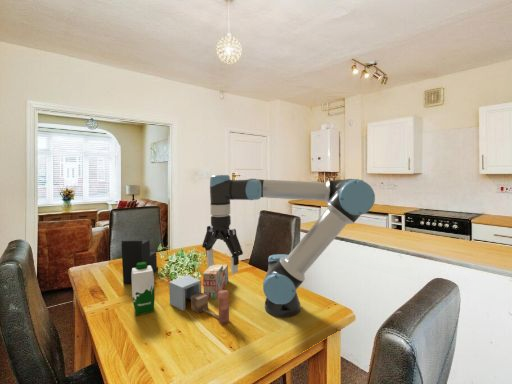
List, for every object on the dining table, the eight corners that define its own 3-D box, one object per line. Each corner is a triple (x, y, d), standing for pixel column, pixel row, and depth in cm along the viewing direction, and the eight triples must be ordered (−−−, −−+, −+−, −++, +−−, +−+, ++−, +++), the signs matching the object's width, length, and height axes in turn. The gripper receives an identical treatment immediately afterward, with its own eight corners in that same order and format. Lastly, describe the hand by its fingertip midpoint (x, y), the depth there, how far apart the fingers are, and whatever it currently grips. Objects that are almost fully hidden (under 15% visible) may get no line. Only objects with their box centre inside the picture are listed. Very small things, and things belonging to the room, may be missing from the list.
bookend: (141, 269, 171) (139, 231, 169) (158, 269, 171) (157, 231, 169) (122, 284, 147) (120, 241, 146) (142, 284, 147) (140, 241, 146)
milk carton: (153, 303, 125) (151, 260, 124) (156, 312, 117) (154, 265, 116) (132, 307, 121) (130, 263, 120) (133, 317, 113) (131, 269, 112)
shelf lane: (201, 302, 125) (200, 280, 125) (183, 310, 118) (182, 287, 117) (188, 296, 132) (187, 275, 131) (169, 303, 124) (169, 281, 124)
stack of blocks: (217, 280, 151) (216, 258, 150) (228, 281, 149) (228, 259, 149) (203, 298, 130) (202, 272, 129) (216, 299, 128) (215, 273, 128)
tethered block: (232, 320, 109) (231, 291, 108) (222, 326, 106) (221, 295, 105) (200, 305, 122) (200, 279, 122) (191, 309, 119) (190, 282, 118)
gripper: (251, 216, 101) (252, 273, 102) (206, 211, 117) (208, 260, 118) (237, 219, 95) (238, 279, 97) (192, 213, 111) (194, 265, 113)
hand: (222, 269), depth 108 cm, fingers open, 13 cm apart
